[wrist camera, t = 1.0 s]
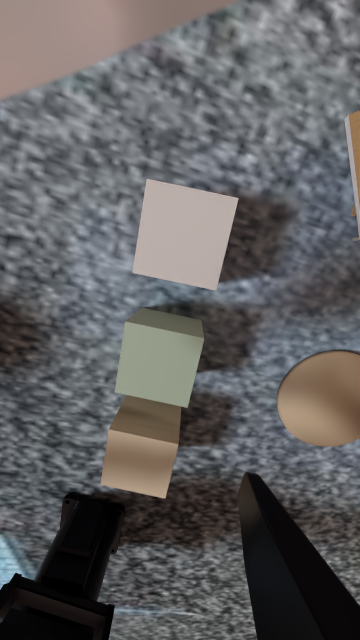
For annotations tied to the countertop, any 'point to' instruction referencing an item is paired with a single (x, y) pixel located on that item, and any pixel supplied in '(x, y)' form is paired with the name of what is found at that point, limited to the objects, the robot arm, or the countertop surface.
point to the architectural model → (354, 160)
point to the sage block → (159, 356)
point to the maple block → (142, 446)
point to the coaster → (322, 399)
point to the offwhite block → (183, 234)
